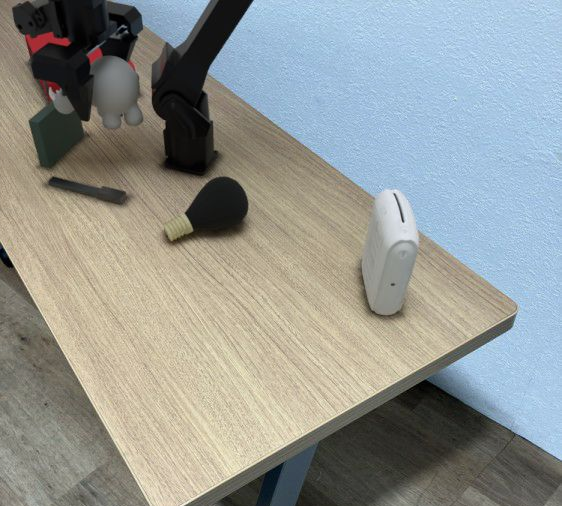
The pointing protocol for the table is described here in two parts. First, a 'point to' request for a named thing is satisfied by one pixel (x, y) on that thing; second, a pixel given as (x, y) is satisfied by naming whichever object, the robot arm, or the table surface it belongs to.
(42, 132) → the backboard
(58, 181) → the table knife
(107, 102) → the chubby cartoon animal
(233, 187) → the light bulb
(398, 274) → the photo printer
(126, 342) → the table surface
